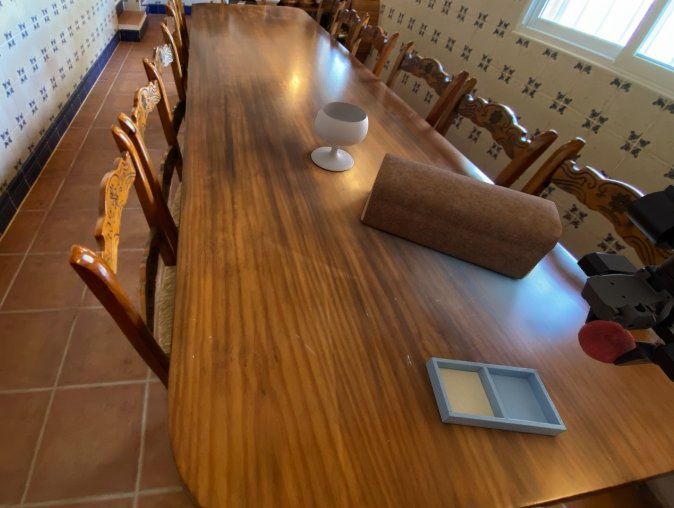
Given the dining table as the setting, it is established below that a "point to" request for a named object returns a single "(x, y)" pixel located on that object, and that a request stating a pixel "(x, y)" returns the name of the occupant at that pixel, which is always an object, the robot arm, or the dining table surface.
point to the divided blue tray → (493, 397)
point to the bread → (462, 216)
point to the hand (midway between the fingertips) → (601, 343)
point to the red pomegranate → (605, 340)
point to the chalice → (339, 134)
